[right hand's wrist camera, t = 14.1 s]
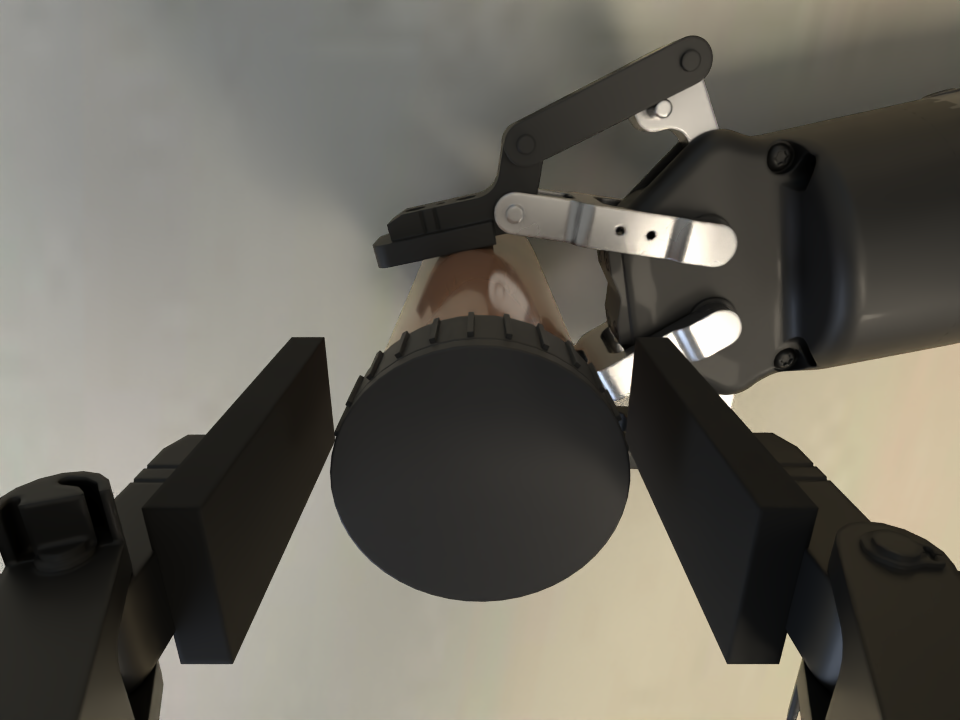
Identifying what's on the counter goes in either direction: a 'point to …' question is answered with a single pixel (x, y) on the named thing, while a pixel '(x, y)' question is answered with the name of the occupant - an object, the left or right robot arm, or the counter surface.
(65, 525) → the right robot arm
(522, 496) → the lid
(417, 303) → the jar
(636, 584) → the counter surface
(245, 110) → the counter surface
